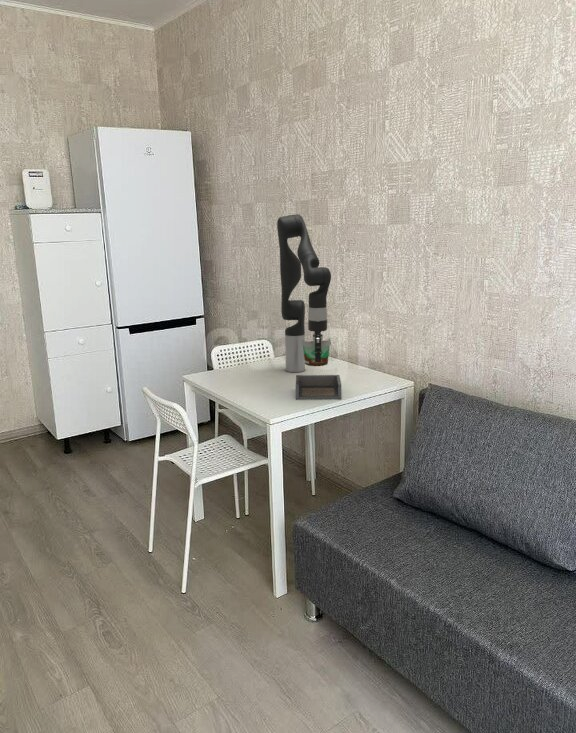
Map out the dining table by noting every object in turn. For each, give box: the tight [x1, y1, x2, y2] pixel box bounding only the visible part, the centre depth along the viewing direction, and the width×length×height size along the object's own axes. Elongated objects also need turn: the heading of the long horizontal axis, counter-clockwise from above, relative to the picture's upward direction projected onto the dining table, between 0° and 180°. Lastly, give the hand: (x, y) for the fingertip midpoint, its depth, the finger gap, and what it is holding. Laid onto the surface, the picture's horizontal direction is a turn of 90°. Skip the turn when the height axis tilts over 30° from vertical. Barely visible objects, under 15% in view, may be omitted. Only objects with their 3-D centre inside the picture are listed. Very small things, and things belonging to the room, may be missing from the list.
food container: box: [301, 338, 332, 367], centre depth 240 cm, size 12×6×10 cm, turn 104°
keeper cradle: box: [295, 374, 342, 401], centre depth 245 cm, size 15×18×6 cm
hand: (317, 359), depth 241 cm, fingers closed on food container, 5 cm apart
